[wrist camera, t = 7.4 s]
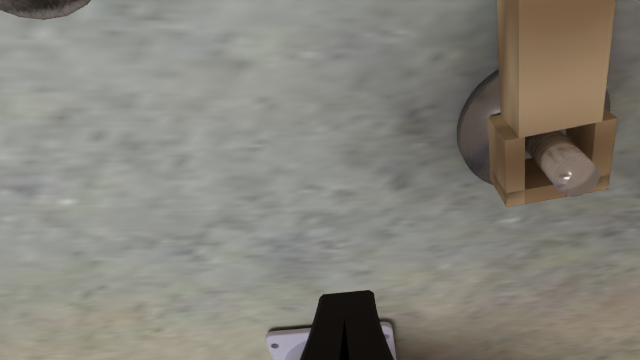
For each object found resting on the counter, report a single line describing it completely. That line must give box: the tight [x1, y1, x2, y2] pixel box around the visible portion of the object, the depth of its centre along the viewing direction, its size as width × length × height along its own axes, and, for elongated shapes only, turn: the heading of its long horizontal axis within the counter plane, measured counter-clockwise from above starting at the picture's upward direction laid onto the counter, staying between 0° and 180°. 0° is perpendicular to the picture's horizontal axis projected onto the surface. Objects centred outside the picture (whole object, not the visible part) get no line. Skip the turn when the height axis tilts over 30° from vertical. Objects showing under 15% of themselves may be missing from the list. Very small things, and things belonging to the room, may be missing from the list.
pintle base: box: [457, 70, 610, 196], centre depth 16 cm, size 6×6×4 cm
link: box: [487, 0, 618, 207], centre depth 14 cm, size 11×4×2 cm, turn 15°
